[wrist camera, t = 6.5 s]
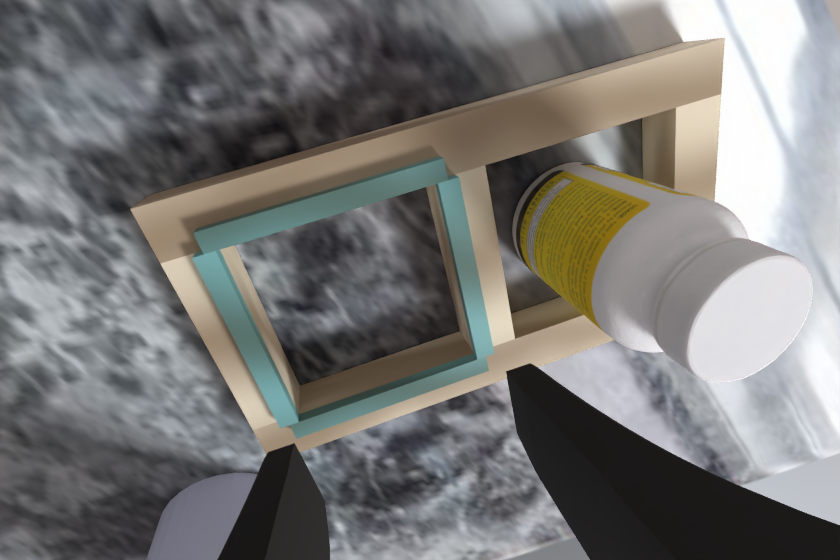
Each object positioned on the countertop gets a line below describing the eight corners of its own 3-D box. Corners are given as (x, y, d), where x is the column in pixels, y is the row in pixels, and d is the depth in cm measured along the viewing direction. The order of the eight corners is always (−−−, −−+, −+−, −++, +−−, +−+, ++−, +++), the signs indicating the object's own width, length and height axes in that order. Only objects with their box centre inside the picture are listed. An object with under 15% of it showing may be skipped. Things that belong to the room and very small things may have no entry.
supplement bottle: (512, 286, 22) (654, 426, 13) (503, 174, 19) (670, 253, 10) (614, 259, 22) (813, 375, 14) (618, 148, 20) (862, 203, 11)
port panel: (677, 289, 24) (715, 310, 22) (273, 431, 22) (270, 471, 19) (684, 41, 19) (735, 36, 16) (149, 195, 16) (124, 213, 14)
